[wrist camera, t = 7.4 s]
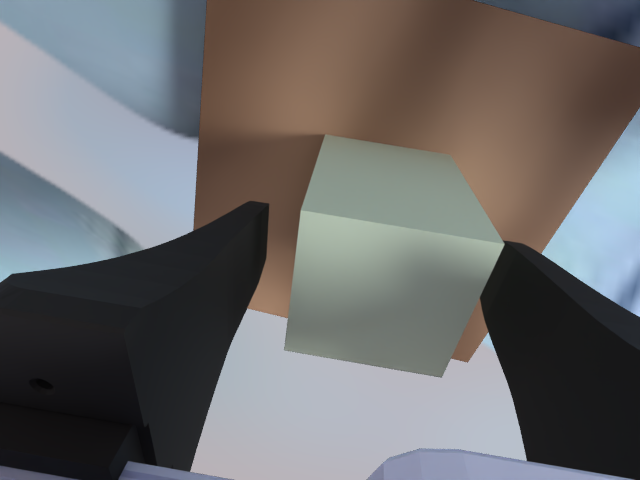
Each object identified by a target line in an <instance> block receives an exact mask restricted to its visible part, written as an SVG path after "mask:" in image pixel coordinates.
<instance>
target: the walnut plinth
mask: <svg viewBox="0 0 640 480" xmlns="http://www.w3.org/2000/svg"><path fill="white" fill-rule="evenodd" d="M639 108H640V47H637V46H633V45H630V44H626V43H622V42H619V41H615V40H612V39H608V38H605V37H601V36H598V35H594V34H591V33H587V32H583V31H580V30H576V29H573V28H569V27H566V26H562V25H559V24H555V23H551V22H548V21H544V20H541V19H537V18H534V17H530V16H527V15H523V14H519V13H516V12H512V11H509V10H505V9H502V8H498V7H495V6H491V5H487V4H484V3H480V2H477V1H473V0H207V6H206V23H205V40H204V58H203V75H202V92H201V109H200V126H199V143H198V161H197V178H196V179H197V180H196V196H195V213H194V229H193V230H196V229H198V228H200V227H202V226H204V225H206V224H209V223H211V222H212V221H214V220H216V219H218V218H220V217H221V216H223V215H225V214H227V213H229V212H230V211H232V210H234V209H235V208H237V207H239V206H241V205H242V204H244V203H246V202H248V201H256V202H263V203H269V221H268V240H267V258H266V261H265V265H264V268H263V271H262V275H261V278H260V281H259V284H258V286H257V288H256V290H255V293H254V295H253V297H252V299H251V301H250V303H249V306H248V309H252V310H256V311H261V312H264V313H269V314H273V315H277V316H281V317H285V318H288V314H289V305H290V297H291V288H292V280H293V272H294V263H295V255H296V247H297V238H298V230H299V222H300V213H301V208H302V205H303V202H304V199H305V196H306V193H307V190H308V186H309V183H310V180H311V177H312V174H313V171H314V168H315V165H316V161H317V158H318V155H319V152H320V149H321V146H322V143H323V140H324V137H325V134H326V135H332V136H338V137H344V138H350V139H356V140H362V141H368V142H375V143H381V144H387V145H393V146H399V147H405V148H411V149H417V150H423V151H430V152H436V153H442V154H448V155H451V157H452V158H453V160H454V162H455V163H456V165H457V166H458V168H459V170H460V171H461V173H462V175H463V176H464V178H465V180H466V181H467V183H468V185H469V186H470V188H471V190H472V191H473V193H474V194H475V196H476V198H477V199H478V201H479V203H480V204H481V206H482V208H483V209H484V211H485V213H486V214H487V216H488V217H489V219H490V221H491V222H492V224H493V226H494V227H495V229H496V231H497V232H498V234H499V236H500V237H501V239H502V240H505V241H511V242H518V243H523V244H525V245H527V246H529V247H531V248H532V249H534V250H536V251H537V252H539V253H540V254H541V253H542V252H543V250H544V249H545V247H546V246H547V244H548V243H549V241H550V240H551V238H552V237H553V235H554V234H555V232H556V231H557V229H558V228H559V226H560V225H561V223H562V222H563V220H564V219H565V217H566V216H567V214H568V213H569V211H570V210H571V209H572V207H573V206H574V204H575V203H576V201H577V200H578V198H579V197H580V195H581V194H582V192H583V191H584V189H585V188H586V186H587V185H588V183H589V182H590V180H591V179H592V177H593V176H594V174H595V173H596V171H597V170H598V168H599V167H600V166H601V164H602V163H603V161H604V160H605V158H606V157H607V155H608V154H609V152H610V151H611V149H612V148H613V146H614V145H615V143H616V142H617V140H618V139H619V137H620V136H621V134H622V133H623V131H624V130H625V128H626V127H627V125H628V124H629V122H630V121H631V120H632V118H633V117H634V115H635V114H636V112H637V111H638V109H639ZM487 333H488V329H487V326H486V323H485V320H484V316H483V312H482V307H481V302H480V298H479V300H478V302H477V304H476V306H475V308H474V310H473V312H472V315H471V317H470V319H469V321H468V323H467V325H466V327H465V329H464V331H463V334H462V336H461V338H460V340H459V342H458V344H457V346H456V348H455V350H454V353H453V355H452V357H451V358H452V359H456V360H460V361H464V362H468V361H469V360H470V358H471V357H472V355H473V354H474V352H475V351H476V349H477V348H478V346H479V345H480V344H481V342H482V341H483V339H484V338H485V336H486V335H487Z"/></svg>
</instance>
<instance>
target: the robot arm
mask: <svg viewBox="0 0 640 480" xmlns="http://www.w3.org/2000/svg"><path fill="white" fill-rule="evenodd" d="M268 221H269V203H263V202H256V201H248V202H246V203H244V204H242V205H241V206H239V207H237V208H235V209H234V210H232V211H230V212H229V213H227V214H225V215H223V216H221V217H220V218H218V219H216V220H214V221H212V222H211V223H209V224H206V225H204V226H202V227H200V228H198V229H196V230H194V231H192V232H190V233H188V234H186V235H184V236H181V237H179V238H176V239H174V240H171V241H169V242H166V243H163V244H161V245H158V246H155V247H152V248H149V249H145V250H142V251H138V252H135V253H131V254H127V255H124V256H120V257H116V258H112V259H108V260H103V261H98V262H93V263H88V264H83V265H77V266H71V267H65V268H57V269H49V270H41V271H33V272H26V273H16V274H11V275H10V276H9V277H7V278H6V279H5V280H3V281H2V282H1V283H0V480H232V479H227V478H221V477H216V476H209V475H204V474H198V473H192V472H190V470H191V466H192V463H193V460H194V456H195V453H196V449H197V446H198V442H199V439H200V436H201V433H202V429H203V426H204V423H205V419H206V416H207V413H208V410H209V407H210V403H211V401H212V397H213V394H214V391H215V388H216V385H217V382H218V379H219V376H220V373H221V370H222V367H223V364H224V361H225V358H226V355H227V352H228V350H229V347H230V345H231V342H232V340H233V337H234V335H235V333H236V331H237V329H238V327H239V325H240V323H241V320H242V318H243V316H244V314H245V312H246V310H247V308H248V306H249V303H250V301H251V299H252V297H253V295H254V293H255V290H256V288H257V286H258V284H259V281H260V278H261V275H262V271H263V268H264V265H265V261H266V258H267V240H268ZM502 241H503V242H504V244H505V245H504V247H503V249H502V251H501V253H500V255H499V257H498V260H497V262H496V264H495V266H494V268H493V270H492V272H491V274H490V276H489V279H488V281H487V283H486V285H485V287H484V289H483V291H482V293H481V295H480V302H481V307H482V312H483V316H484V320H485V323H486V326H487V329H488V332H489V335H490V337H491V340H492V343H493V346H494V348H495V351H496V353H497V356H498V359H499V361H500V364H501V367H502V369H503V372H504V374H505V377H506V380H507V383H508V386H509V389H510V392H511V395H512V398H513V402H514V406H515V410H516V414H517V418H518V422H519V426H520V430H521V435H522V439H523V444H524V449H525V453H526V458H527V461H523V460H517V459H511V458H506V457H500V456H494V455H488V454H482V453H476V452H471V451H465V450H459V449H417V450H413V451H410V452H407V453H403V454H400V455H397V456H394V457H390V458H388V459H387V460H386V461H385V462H383V464H381V466H379V467H378V468H377V470H375V472H374V473H373V474H372V475H371V476H370V477H369V478H368V479H367V480H640V317H638V316H637V315H635V314H633V313H631V312H630V311H628V310H626V309H624V308H623V307H621V306H619V305H618V304H616V303H615V302H613V301H611V300H610V299H608V298H607V297H605V296H603V295H602V294H600V293H599V292H597V291H595V290H594V289H592V288H591V287H589V286H588V285H586V284H585V283H583V282H582V281H580V280H579V279H577V278H576V277H574V276H573V275H571V274H570V273H569V272H567V271H566V270H564V269H563V268H561V267H560V266H558V265H557V264H555V263H554V262H552V261H551V260H549V259H548V258H546V257H545V256H543V255H542V254H540V253H539V252H537V251H536V250H534V249H532V248H531V247H529V246H527V245H525V244H523V243H518V242H511V241H505V240H502Z"/></svg>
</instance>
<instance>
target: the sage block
mask: <svg viewBox="0 0 640 480" xmlns="http://www.w3.org/2000/svg"><path fill="white" fill-rule="evenodd" d="M504 245H505V244H504V242H503V241H502V239H501V237H500V236H499V234H498V232H497V231H496V229H495V227H494V226H493V224H492V222H491V221H490V219H489V217H488V216H487V214H486V213H485V211H484V209H483V208H482V206H481V204H480V203H479V201H478V199H477V198H476V196H475V194H474V193H473V191H472V190H471V188H470V186H469V185H468V183H467V181H466V180H465V178H464V176H463V175H462V173H461V171H460V170H459V168H458V166H457V165H456V163H455V162H454V160H453V158H452V157H451V155H448V154H442V153H436V152H430V151H423V150H417V149H411V148H405V147H399V146H393V145H387V144H381V143H375V142H368V141H362V140H356V139H350V138H344V137H338V136H332V135H326V134H325V137H324V140H323V143H322V146H321V149H320V152H319V155H318V158H317V161H316V165H315V168H314V171H313V174H312V177H311V180H310V183H309V186H308V190H307V193H306V196H305V199H304V202H303V205H302V208H301V213H300V222H299V230H298V238H297V247H296V255H295V263H294V272H293V280H292V288H291V297H290V305H289V314H288V322H287V331H286V339H285V347H284V350H285V351H292V352H297V353H302V354H308V355H315V356H320V357H326V358H332V359H337V360H343V361H349V362H355V363H361V364H366V365H372V366H378V367H383V368H389V369H395V370H401V371H407V372H412V373H418V374H424V375H430V376H435V377H442V376H443V374H444V371H445V370H446V367H447V365H448V363H449V361H450V359H451V357H452V355H453V353H454V350H455V348H456V346H457V344H458V342H459V340H460V338H461V336H462V334H463V331H464V329H465V327H466V325H467V323H468V321H469V319H470V317H471V315H472V312H473V310H474V308H475V306H476V304H477V302H478V300H479V298H480V295H481V293H482V291H483V289H484V287H485V285H486V283H487V281H488V279H489V276H490V274H491V272H492V270H493V268H494V266H495V264H496V262H497V260H498V257H499V255H500V253H501V251H502V249H503V247H504Z"/></svg>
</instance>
